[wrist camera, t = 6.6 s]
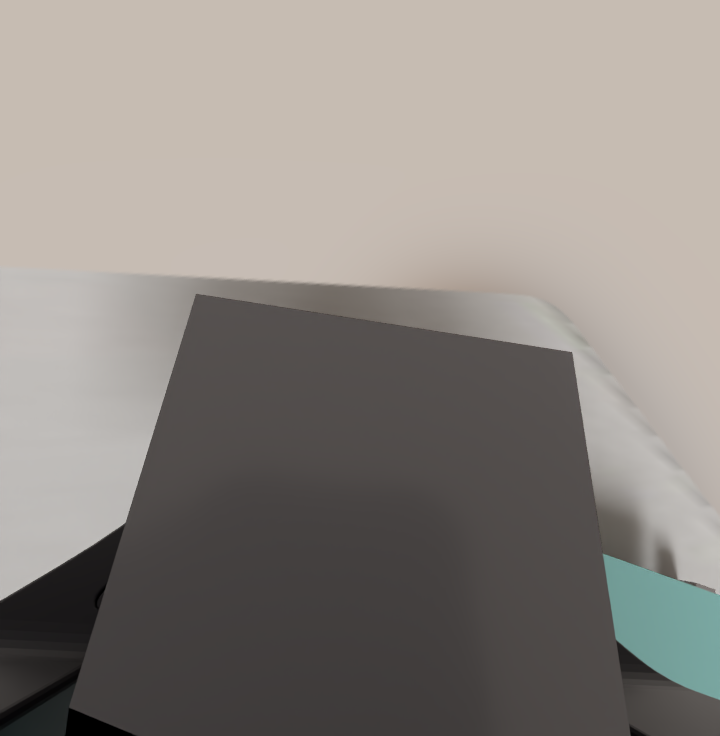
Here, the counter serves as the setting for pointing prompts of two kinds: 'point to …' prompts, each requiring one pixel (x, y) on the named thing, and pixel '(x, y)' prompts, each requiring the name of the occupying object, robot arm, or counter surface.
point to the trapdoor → (667, 624)
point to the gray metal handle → (356, 542)
